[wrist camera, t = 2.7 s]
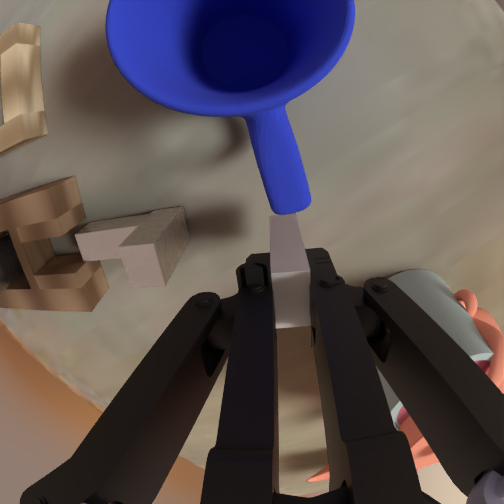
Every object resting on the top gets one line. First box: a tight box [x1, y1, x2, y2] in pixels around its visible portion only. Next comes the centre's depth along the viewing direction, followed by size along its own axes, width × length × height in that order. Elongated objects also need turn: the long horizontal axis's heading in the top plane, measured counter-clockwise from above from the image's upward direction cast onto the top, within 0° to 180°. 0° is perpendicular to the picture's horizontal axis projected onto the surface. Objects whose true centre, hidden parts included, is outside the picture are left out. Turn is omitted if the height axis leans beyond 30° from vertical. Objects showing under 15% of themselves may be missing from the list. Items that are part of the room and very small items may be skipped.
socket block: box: [0, 176, 109, 312], centre depth 20 cm, size 14×10×4 cm
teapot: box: [306, 290, 504, 482], centre depth 19 cm, size 16×17×14 cm
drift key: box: [75, 206, 190, 288], centre depth 18 cm, size 8×3×6 cm, turn 96°
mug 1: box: [106, 0, 355, 215], centre depth 12 cm, size 8×12×10 cm
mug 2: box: [376, 269, 494, 431], centre depth 20 cm, size 14×9×10 cm
